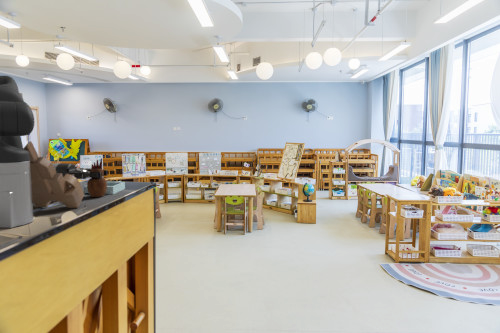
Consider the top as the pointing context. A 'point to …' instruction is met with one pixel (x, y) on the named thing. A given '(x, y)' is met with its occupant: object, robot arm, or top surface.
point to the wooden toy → (52, 183)
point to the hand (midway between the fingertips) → (103, 173)
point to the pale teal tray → (111, 187)
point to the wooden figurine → (97, 182)
